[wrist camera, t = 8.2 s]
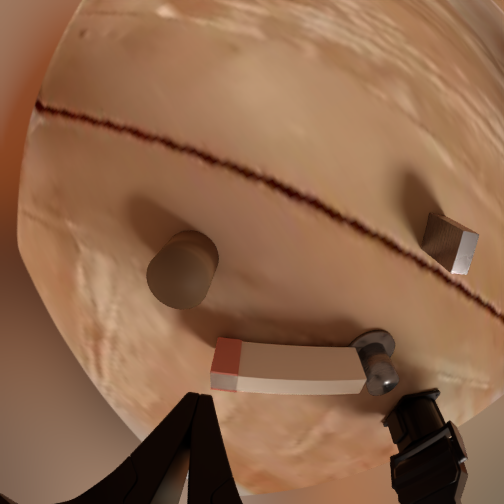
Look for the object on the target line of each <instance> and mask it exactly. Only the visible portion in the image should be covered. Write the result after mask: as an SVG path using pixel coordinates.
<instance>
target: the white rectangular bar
mask: <svg viewBox="0 0 504 504" xmlns="http://www.w3.org/2000/svg"><path fill="white" fill-rule="evenodd" d="M210 374H211V389H213V390H220V391H229V392H237V391H243V392H254V393H268V394H289V395H339V394H359V393H360V391H361V390H362V388H363V386H364V384H365V382H366V380H367V378H366V376H365V373H364V370H363V367H362V364H361V362H360V359H359V356H358V354H357V351H356V348H355V347H311V346H291V345H276V344H263V343H252V342H242V340H240V339H230V338H222V337H218V340H217V344H216V349H215V353H214V358H213V362H212V366H211V371H210Z"/></svg>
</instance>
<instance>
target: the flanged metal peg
mask: <svg viewBox="0 0 504 504" xmlns="http://www.w3.org/2000/svg"><path fill="white" fill-rule="evenodd" d="M348 347H355V348H356V351H357V354H358V356H359V359H360V362H361V364H362V367H363V370H364V373H365V376H366V378H367V380H366V382H365V383H366V386H367V389H368V392H369V393H370V394H371V395H375V396H377V395H382V394H385V393H387V392H389V391H391V390H392V389H393V388H394V387H395V386H396V385H397V384H398V382H399V377H398V374H397V372H396V370H395V368H394V366H393V364H392V362H391V360H390V357H391V355H392V354H393V352H394V349H395V342H394V339H393V337H392V336H391V335H390V334H389V333H388V332H386V331H382V330H375V331H370V332H367V333H365V334H362V335H361V336H359V337H358V338H356V339H355V340H354V341H353V342H352V343H351V344H350V345H349V346H348Z"/></svg>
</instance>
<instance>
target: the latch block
mask: <svg viewBox="0 0 504 504" xmlns="http://www.w3.org/2000/svg"><path fill="white" fill-rule="evenodd" d="M478 238H479V234H478V233H476V232H474V231H472V230H471V229H469V228H467V227H465V226H463V225H461V224H460V223H458V222H456V221H454V220H452V219H450V218H448V217H446V216H442V215H438V214H434V213H430V215H429V219H428V223H427V228H426V232H425V236H424V239H423V243H422V247H421V249H422V250H423V251H425V252H426V253H427V254H428V255H430V256H431V257H432V258H433V259H435V260H436V261H437V262H438V263H439V264H441V265H442V266H443V267H444V268H445V269H447V270H448V271H449V272H450V273H455V274H466V275H467V273H468V270H469V267H470V264H471V261H472V258H473V255H474V251H475V248H476V245H477V241H478Z"/></svg>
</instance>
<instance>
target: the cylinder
mask: <svg viewBox="0 0 504 504" xmlns="http://www.w3.org/2000/svg"><path fill="white" fill-rule="evenodd" d="M218 260H219V256H218V251H217V248H216V246H215V244H214V243H213V242H212V240H211V239H210V238H208V237H207V236H206V235H204V234H202V233H200V232H197V231H183V232H180V233H178V234H176V235H175V236H174V237H173V238H172V239H171V240H170V241H169V242H168V243H167V244H166V245H165V246H164V247H163V248H162V250H161V251H160V252H159V253H158V254H157V255H156V256H155V257H154V258H153V259H152V260H151V262H150V263H149V266H148V268H147V274H146V276H147V283H148V286H149V288H150V290H151V292H152V293H153V295H154V296H155V297H156V298H157V299H158V300H159V301H160V302H162V303H163V304H165V305H167V306H169V307H172V308H175V309H190V308H193V307H195V306H197V305H199V304H200V303H201V302H202V301H203V300H204V298H205V297H206V294H207V292H208V289H209V287H210V284H211V281H212V279H213V276H214V273H215V271H216V268H217V265H218Z"/></svg>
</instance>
